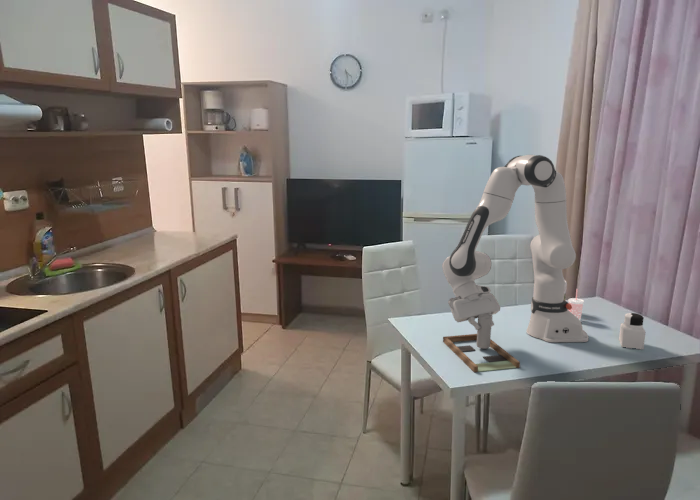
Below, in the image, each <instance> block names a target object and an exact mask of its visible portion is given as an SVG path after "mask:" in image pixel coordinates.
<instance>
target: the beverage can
mask: <svg viewBox="0 0 700 500" xmlns="http://www.w3.org/2000/svg"><path fill="white" fill-rule="evenodd" d="M491 320H492V321H493V316H492V317H491V315H490V314H481V315H478V318H477V323H478V324H479V323H480V326H481V327H482V328H481V329H479V330H476V331H477V333H476V334H477V340H476V346H477V347H478V348H479V349H488V348H491V347H490V339H491V337H492V336H491V335H492V327H491Z"/></svg>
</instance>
